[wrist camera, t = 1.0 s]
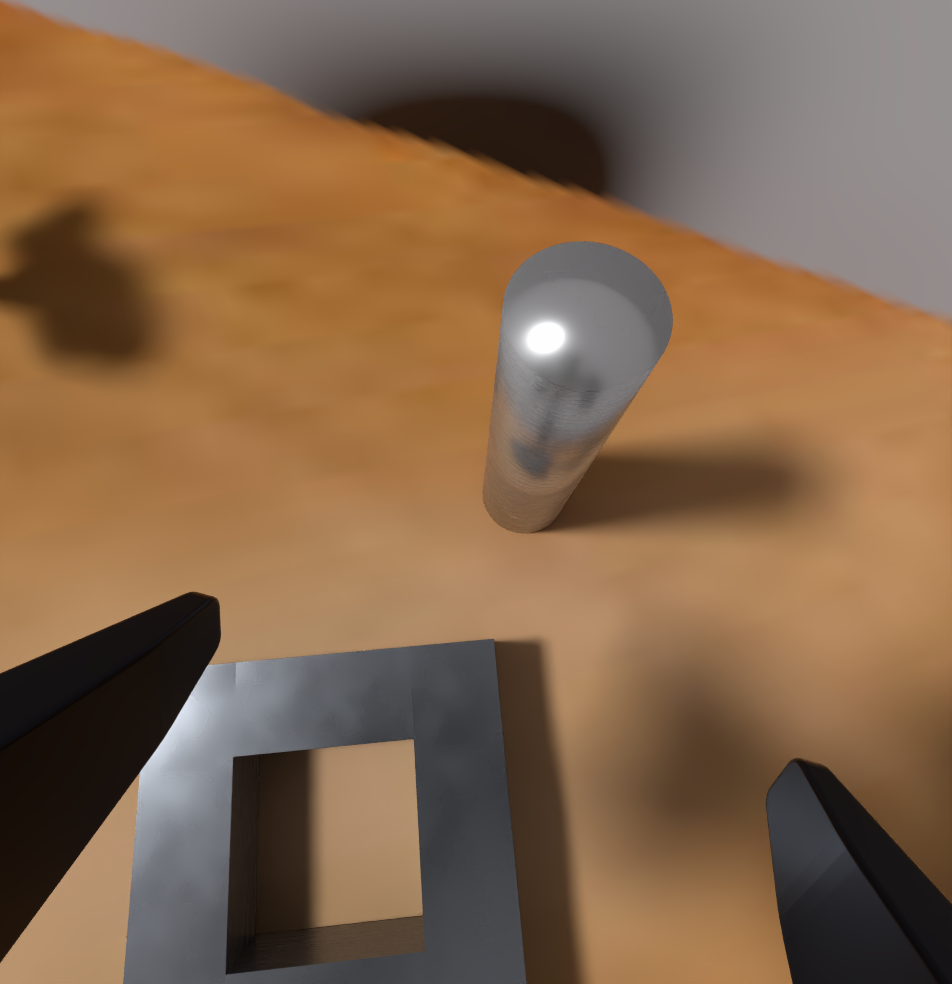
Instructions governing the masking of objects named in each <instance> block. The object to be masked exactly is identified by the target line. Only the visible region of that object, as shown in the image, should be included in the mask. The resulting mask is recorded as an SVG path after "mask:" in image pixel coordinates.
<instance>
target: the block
mask: <svg viewBox="0 0 952 984" xmlns="http://www.w3.org/2000/svg"><path fill="white" fill-rule="evenodd" d="M407 739H414V750H415V769H416V788H417V808H418V827H419V846H420V865H421V884H422V904H423V916H417V917H409V918H400V919H391V920H382V921H373V922H365V923H356V924H347V925H338V926H329V927H321V928H312V929H303V930H294V931H286V932H277V933H268V934H259V935H256V895H257V850H258V805H259V760H260V754H266V753H276V752H287V751H297V750H307V749H317V748H327V747H337V746H347V745H357V744H367V743H377V742H387V741H397V740H407ZM123 984H527V983H526V972H525V962H524V951H523V941H522V930H521V920H520V909H519V899H518V888H517V878H516V867H515V857H514V846H513V836H512V825H511V815H510V804H509V794H508V783H507V773H506V762H505V752H504V741H503V731H502V720H501V710H500V699H499V689H498V678H497V668H496V658H495V647H494V639H488V640H477V641H466V642H455V643H444V644H433V645H422V646H411V647H401V648H390V649H379V650H368V651H357V652H346V653H335V654H324V655H313V656H302V657H292V658H281V659H270V660H259V661H248V662H237V663H226V664H215V665H208V666H207V667H206V669H205V671H204V672H203V674H202V676H201V677H200V679H199V681H198V683H197V684H196V686H195V688H194V689H193V691H192V693H191V694H190V696H189V698H188V700H187V701H186V703H185V705H184V706H183V708H182V710H181V711H180V713H179V715H178V717H177V718H176V720H175V722H174V723H173V725H172V727H171V728H170V730H169V731H168V733H167V735H166V736H165V738H164V739H163V741H162V742H161V744H160V745H159V746H158V748H157V749H156V751H155V752H154V754H153V755H152V756H151V758H150V759H149V760H148V762H147V763H146V765H145V766H144V767H143V769H142V770H141V771H140V779H139V792H138V805H137V817H136V830H135V843H134V855H133V868H132V881H131V893H130V906H129V919H128V931H127V944H126V957H125V969H124V982H123Z"/></svg>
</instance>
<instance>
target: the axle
mask: <svg viewBox="0 0 952 984" xmlns="http://www.w3.org/2000/svg"><path fill="white" fill-rule="evenodd" d="M672 322H673V315H672V309H671V304H670V301H669V297H668V295H667V293H666V291H665V288H664V287H663V285H662V283H661V282H660V280H659V279H658V278H657V276H656V275H655V274H654V273H653V272H652V271H651V270H650V269H649V268H648V267H647V266H646V265H645V264H644V263H643V262H641V261H640V260H639V259H637V258H636V257H634V256H632V255H631V254H629V253H627V252H625V251H623V250H621V249H618V248H616V247H613V246H610V245H606V244H601V243H596V242H586V241H584V242H567V243H562V244H558V245H554V246H551V247H548V248H546V249H544V250H542V251H540V252H538V253H536V254H534V255H533V256H532V257H530V258H529V259H527V260H526V261H525V262H524V263H523V264H522V265H521V266H520V267H519V268H518V269H517V271H516V272H515V273H514V275H513V276H512V278H511V279H510V281H509V284H508V286H507V288H506V292H505V295H504V300H503V310H502V319H501V328H500V337H499V346H498V356H497V365H496V374H495V383H494V392H493V402H492V411H491V420H490V429H489V438H488V448H487V457H486V466H485V475H484V484H483V501H484V504H485V507H486V510H487V512H488V513H489V515H490V516H491V517H492V519H493V520H494V521H495V522H496V523H497V524H499V525H500V526H502V527H503V528H505V529H507V530H510V531H513V532H517V533H532V532H536V531H539V530H541V529H544V528H545V527H547V526H548V525H550V524H551V523H552V522H553V521H554V520H555V519H556V517H557V516H558V514H559V513H560V511H561V510H562V508H563V507H564V505H565V504H566V502H567V501H568V499H569V497H570V496H571V494H572V493H573V491H574V490H575V488H576V487H577V485H578V484H579V482H580V481H581V479H582V477H583V476H584V474H585V473H586V471H587V470H588V468H589V467H590V465H591V464H592V462H593V461H594V459H595V457H596V456H597V454H598V453H599V451H600V450H601V448H602V447H603V445H604V444H605V442H606V440H607V439H608V437H609V436H610V434H611V433H612V431H613V430H614V428H615V427H616V425H617V424H618V422H619V420H620V419H621V417H622V416H623V414H624V413H625V411H626V410H627V408H628V407H629V405H630V404H631V402H632V400H633V399H634V397H635V396H636V394H637V393H638V391H639V390H640V388H641V387H642V385H643V384H644V382H645V380H646V379H647V377H648V376H649V374H650V373H651V371H652V370H653V368H654V367H655V365H656V364H657V362H658V360H659V359H660V357H661V356H662V354H663V353H664V351H665V349H666V347H667V345H668V342H669V339H670V336H671V331H672Z"/></svg>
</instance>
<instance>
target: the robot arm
mask: <svg viewBox="0 0 952 984" xmlns="http://www.w3.org/2000/svg"><path fill="white" fill-rule="evenodd" d="M220 638H221V626H220V605H219V601H218V600H217V598H215V597H213V596H209V595H206V594H202V593H198V592H189V593H186V594H183V595H181V596H179V597H177V598H174V599H172V600H170V601H167V602H165V603H163V604H160V605H158V606H156V607H153V608H151V609H149V610H146V611H144V612H142V613H139V614H137V615H135V616H132V617H130V618H128V619H125V620H123V621H121V622H119V623H116V624H114V625H112V626H109V627H107V628H105V629H102V630H100V631H98V632H95V633H93V634H91V635H88V636H86V637H84V638H81V639H79V640H77V641H74V642H72V643H70V644H67V645H65V646H63V647H60V648H58V649H56V650H54V651H51V652H49V653H47V654H44V655H42V656H40V657H37V658H35V659H33V660H30V661H28V662H26V663H23V664H21V665H19V666H16V667H14V668H12V669H9V670H7V671H5V672H2V673H0V963H1V961H2V960H3V958H4V957H5V956H6V954H7V953H8V952H9V950H10V949H11V947H12V946H13V945H14V943H15V942H16V941H17V939H18V938H19V937H20V935H21V934H22V932H23V931H24V930H25V928H26V927H27V926H28V924H29V923H30V922H31V920H32V919H33V917H34V916H35V915H36V913H37V912H38V911H39V909H40V908H41V907H42V905H43V904H44V902H45V901H46V900H47V898H48V897H49V896H50V894H51V893H52V892H53V890H54V889H55V887H56V886H57V885H58V883H59V882H60V881H61V879H62V878H63V877H64V875H65V874H66V872H67V871H68V870H69V868H70V867H71V866H72V864H73V863H74V861H75V860H76V859H77V857H78V856H79V855H80V853H81V852H82V851H83V849H84V848H85V846H86V845H87V844H88V842H89V841H90V840H91V838H92V837H93V836H94V834H95V833H96V831H97V830H98V829H99V827H100V826H101V825H102V823H103V822H104V821H105V819H106V818H107V816H108V815H109V814H110V812H111V811H112V810H113V808H114V807H115V806H116V804H117V803H118V801H119V800H120V799H121V797H122V796H123V795H124V793H125V792H126V791H127V789H128V788H129V786H130V785H131V784H132V782H133V781H134V780H135V778H136V777H137V775H138V774H139V773H140V771H141V770H142V769H143V767H144V766H145V765H146V763H147V762H148V760H149V759H150V758H151V756H152V755H153V754H154V752H155V751H156V749H157V748H158V746H159V745H160V744H161V742H162V741H163V739H164V738H165V736H166V735H167V733H168V731H169V730H170V728H171V727H172V725H173V723H174V722H175V720H176V718H177V717H178V715H179V713H180V711H181V710H182V708H183V706H184V705H185V703H186V701H187V700H188V698H189V696H190V694H191V693H192V691H193V689H194V688H195V686H196V684H197V683H198V681H199V679H200V677H201V676H202V674H203V672H204V671H205V669H206V667H207V666H208V664H209V662H210V661H211V659H212V657H213V655H214V654H215V652H216V650H217V648H218V646H219V643H220ZM766 810H767V819H768V828H769V836H770V845H771V854H772V863H773V872H774V880H775V889H776V898H777V905H778V912H779V919H780V924H781V929H782V935H783V940H784V945H785V949H786V954H787V959H788V964H789V968H790V973H791V978H792V982H793V984H952V904H951V903H950V902H949V901H948V900H947V899H946V897H945V896H944V895H943V894H942V893H941V892H940V891H939V890H938V889H937V888H936V886H935V885H934V884H933V883H932V882H931V881H930V880H929V879H928V878H927V877H926V875H925V874H924V873H923V872H922V871H921V870H920V869H919V868H918V867H917V866H916V864H915V863H914V862H913V861H912V860H911V859H910V858H909V857H908V856H907V855H906V853H905V852H904V851H903V850H902V849H901V848H900V847H899V846H898V845H897V844H896V842H895V841H894V840H893V839H892V838H891V837H890V836H889V835H888V834H887V833H886V831H885V830H884V829H883V828H882V827H881V826H880V825H879V824H878V823H877V821H876V820H875V819H874V818H873V817H872V816H871V815H870V814H869V813H868V812H867V810H866V809H865V808H864V807H863V806H862V805H861V804H860V803H859V802H858V801H857V799H856V798H855V797H854V796H853V795H852V794H851V793H850V792H849V791H848V790H847V788H846V787H845V786H844V785H843V784H842V783H841V782H840V781H839V780H838V779H837V777H836V776H835V775H834V774H833V773H832V772H831V771H830V770H829V769H828V768H827V767H825V766H824V765H822V764H819V763H815V762H812V761H808V760H804V759H801V758H795V759H793V760H791V761H790V762H789V763H788V764H787V766H786V767H785V768H784V770H783V771H782V772H781V774H780V775H779V776H778V778H777V779H776V780H775V782H774V783H773V784H772V786H771V787H770V789H769V791H768V793H767V798H766Z"/></svg>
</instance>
